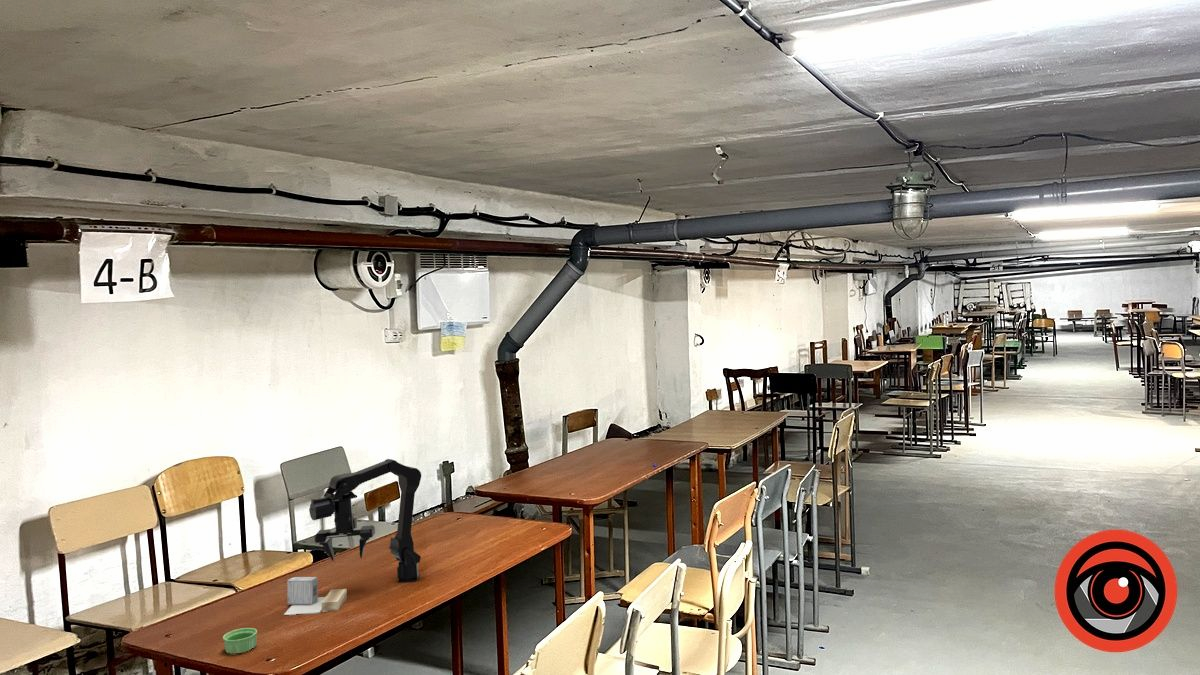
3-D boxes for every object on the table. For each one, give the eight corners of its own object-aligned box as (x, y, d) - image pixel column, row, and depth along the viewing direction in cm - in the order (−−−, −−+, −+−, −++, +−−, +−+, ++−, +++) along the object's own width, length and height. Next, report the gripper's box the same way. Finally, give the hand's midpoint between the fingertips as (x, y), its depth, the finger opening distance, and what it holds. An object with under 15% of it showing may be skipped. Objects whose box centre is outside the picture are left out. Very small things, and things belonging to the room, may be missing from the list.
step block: (347, 597, 268) (346, 588, 267) (338, 610, 256) (337, 601, 255) (331, 598, 267) (331, 589, 267) (322, 612, 255) (321, 602, 255)
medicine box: (318, 576, 265) (293, 576, 266) (311, 580, 261) (286, 579, 262) (318, 600, 265) (293, 600, 266) (311, 604, 260) (286, 604, 261)
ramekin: (216, 653, 226) (215, 638, 226) (241, 641, 235) (240, 626, 235) (241, 657, 223) (240, 641, 223) (265, 644, 232) (264, 629, 232)
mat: (331, 597, 268) (330, 596, 268) (319, 613, 254) (319, 612, 254) (297, 600, 267) (297, 598, 267) (283, 615, 253) (283, 614, 253)
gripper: (376, 504, 277) (380, 548, 278) (321, 509, 276) (325, 554, 276) (369, 513, 266) (373, 559, 267) (312, 518, 264) (316, 564, 265)
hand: (347, 559), depth 269 cm, fingers open, 9 cm apart
